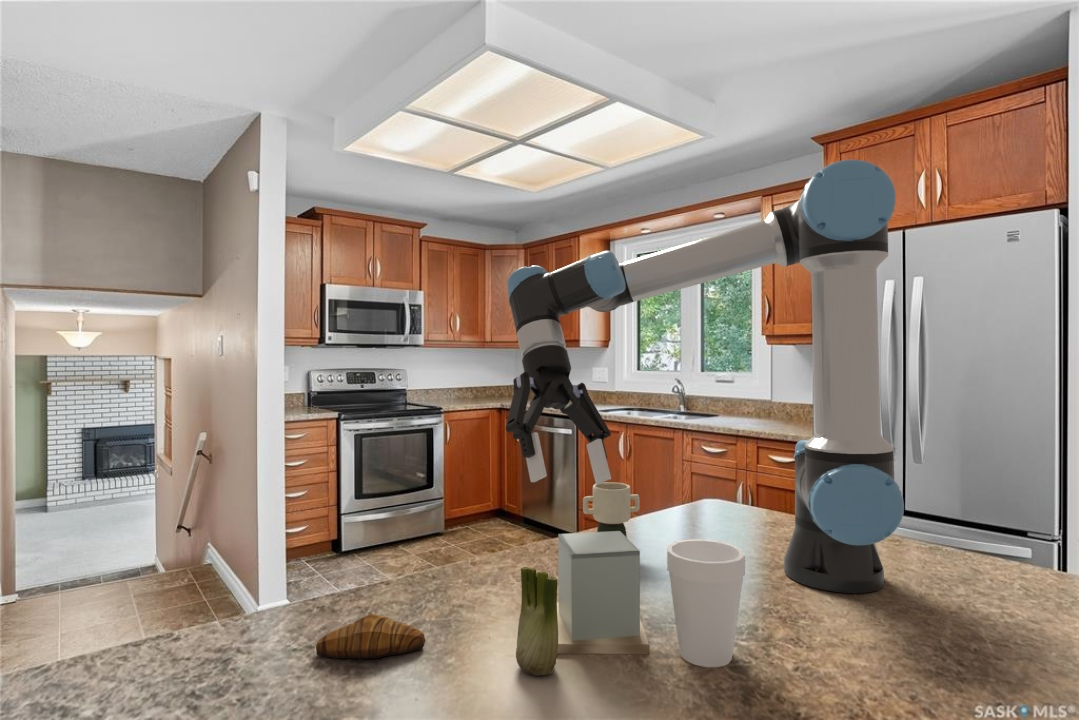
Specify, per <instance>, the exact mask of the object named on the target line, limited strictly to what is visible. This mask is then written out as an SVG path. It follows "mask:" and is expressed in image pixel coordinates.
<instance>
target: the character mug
mask: <svg viewBox="0 0 1079 720" xmlns="http://www.w3.org/2000/svg"><path fill="white" fill-rule="evenodd" d="M631 493H632V491H631V486H630V484H626V483H622V482H616V481H615V482H611V481H610V482H609V481H608V482H607V481H605V482H603V483H601V484H596V483H594V484H593V485H592V495H587V496H584V497H583V499H582V512H583V514H585V515H592V517H593V519H594V521H596V522H598V526H597V530H596V532H610V531H621V532H622V533H623V534H624V535H625V536H626V537H627V538H628V536H627V528H626V526H625V523H626V522H629V521H630V519H631V515H632V513H636V512H637V513H638V512H639V511H640V508H641V507H640V495H639V494H637V493H636V494H634V493H632V494H631ZM632 500H634V506H631V503H632V502H631V501H632ZM589 502H592V508H589Z"/></svg>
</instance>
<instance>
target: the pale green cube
mask: <svg viewBox="0 0 1079 720" xmlns="http://www.w3.org/2000/svg"><path fill="white" fill-rule="evenodd" d="M557 535H558V536H557V537H558V538H557V539H558V540H557V541H558V542H557V543H558V545H557V546H558V547H557V548H558V552H557V553H558V555H557V558H558V560H557V561H558V562H557V563H558V569H557V570H558V572H557V573H558V576H557V577H558V602H559V614H560V616H561V618H562V620H563V623H564V625H565V627H566V629H567V632H568V634H569V636H570V638H571V641H579V640H592V639H605V638H618V637H631V636H640V619H641V573H640V572H641V568H640V567H641V564H640V563H641V558H640V557H641V556H640V555H641V551H640V549H639V548H638V547H636V545H634V544H633V542H632V541H631V540H630V539H629V538H628V536H627V537H626V536H625V535H624V534H623V533H622V532H621V531H610V532H597V531H596V532H595V531H593V532H592V531H591V532H572V533H571V532H570V533H558V534H557Z"/></svg>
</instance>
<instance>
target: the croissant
mask: <svg viewBox="0 0 1079 720" xmlns="http://www.w3.org/2000/svg"><path fill="white" fill-rule="evenodd" d="M425 644H426V637H425V633H424V632H423V631H421V630H420V629H418V628H417V627H414V626H412V625H409V624H406V623H403V622H401V621H397V620H392V619H391V618H389V617H388V616H385V615H378V614H373V613H372V614H368V615H365V616H363V617H360V618H359V619H357V620H355V621H354V622H352V623H349V624H346V625H343V626H342V627H339V628H337V629H334V630H332V631H330V632H328V633H327V634H326V635H325V634H324V636H322V637H321V638H319V639H318V640H317V641H316V647H315V651H316V655H319V656H321V657H326V658H334V659H357V660H358V659H361V660H364V659H365V660H370V659H371V660H372V659H377V658H383V657H387V656H397V655H402V654H407V653H412V652H415V651H417V650H420V649H423V648H424V647H425Z"/></svg>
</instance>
